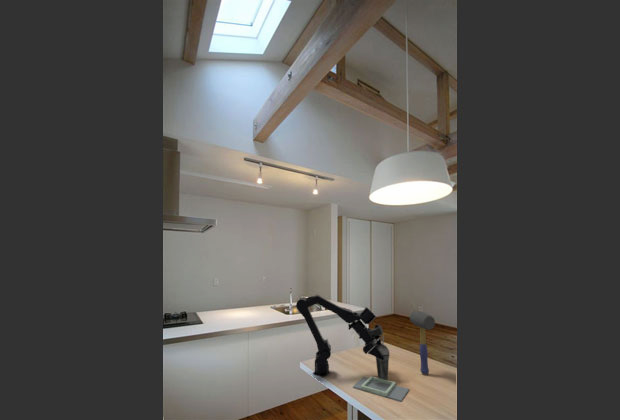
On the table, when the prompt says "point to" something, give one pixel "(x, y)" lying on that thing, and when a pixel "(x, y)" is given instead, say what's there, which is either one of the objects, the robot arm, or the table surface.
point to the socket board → (382, 388)
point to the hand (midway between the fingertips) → (385, 356)
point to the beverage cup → (383, 361)
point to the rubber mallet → (423, 335)
